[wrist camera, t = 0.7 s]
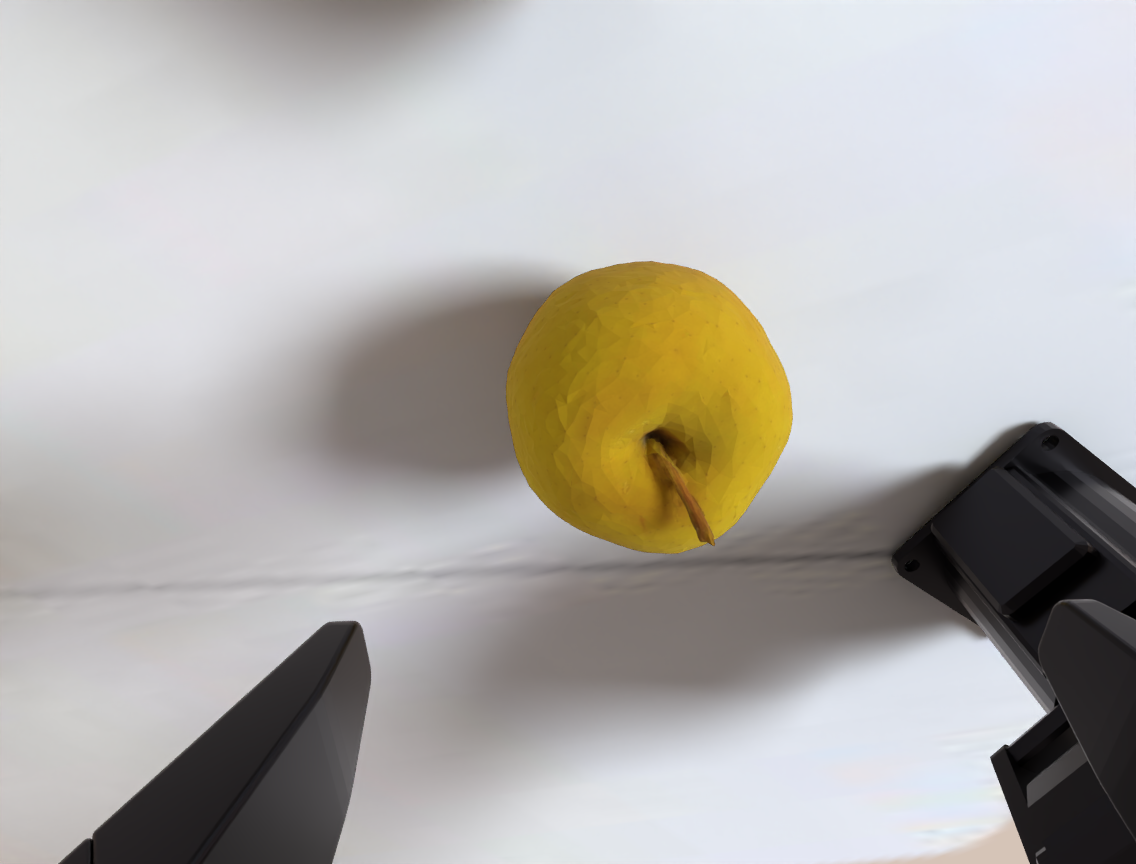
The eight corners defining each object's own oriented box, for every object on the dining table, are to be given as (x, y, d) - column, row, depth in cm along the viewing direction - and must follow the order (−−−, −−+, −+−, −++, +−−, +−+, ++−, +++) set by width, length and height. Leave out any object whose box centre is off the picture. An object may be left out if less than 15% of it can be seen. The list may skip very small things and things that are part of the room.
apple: (695, 460, 22) (768, 653, 15) (490, 416, 21) (463, 599, 14) (774, 259, 19) (912, 378, 12) (541, 198, 18) (540, 286, 11)
